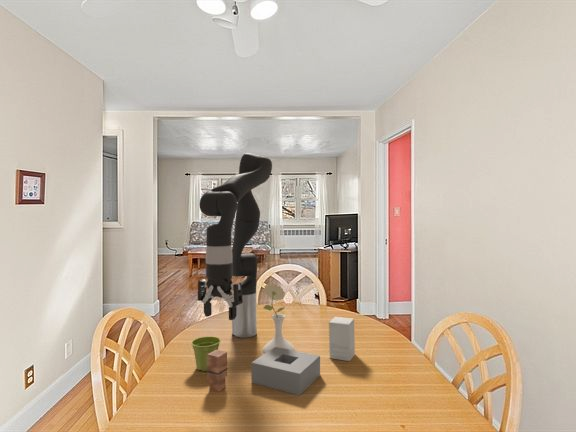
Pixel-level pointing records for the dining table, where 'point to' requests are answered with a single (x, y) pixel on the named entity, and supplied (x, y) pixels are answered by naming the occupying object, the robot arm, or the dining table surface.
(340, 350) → the supplement box
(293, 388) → the mortise board
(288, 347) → the flower in vase
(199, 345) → the plant pot
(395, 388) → the dining table surface
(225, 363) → the peg
